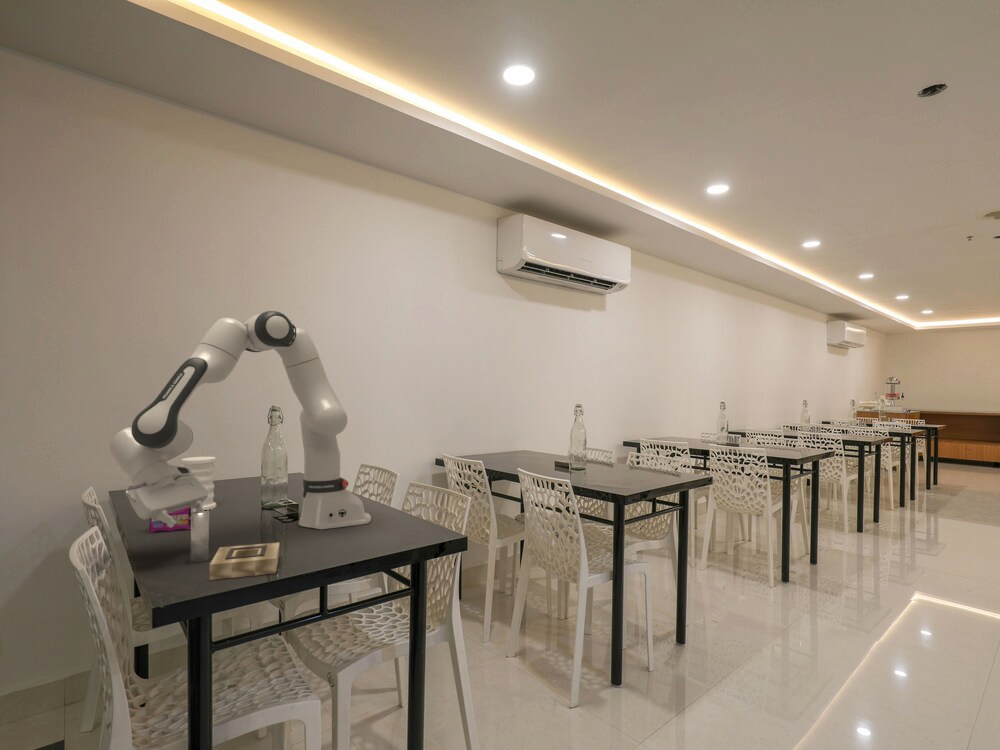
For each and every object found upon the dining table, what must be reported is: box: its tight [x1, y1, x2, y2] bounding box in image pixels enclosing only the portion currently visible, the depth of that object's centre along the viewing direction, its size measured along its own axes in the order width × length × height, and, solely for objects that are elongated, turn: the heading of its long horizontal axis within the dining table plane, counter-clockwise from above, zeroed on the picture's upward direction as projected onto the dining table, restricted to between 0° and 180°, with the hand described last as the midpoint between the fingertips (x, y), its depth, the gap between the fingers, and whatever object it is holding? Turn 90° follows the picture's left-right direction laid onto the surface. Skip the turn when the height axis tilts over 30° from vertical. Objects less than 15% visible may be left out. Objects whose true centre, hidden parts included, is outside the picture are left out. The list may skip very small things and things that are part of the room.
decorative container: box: [181, 456, 217, 512], centre depth 198 cm, size 12×12×18 cm
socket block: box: [209, 542, 281, 581], centre depth 134 cm, size 14×14×4 cm
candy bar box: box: [148, 474, 193, 534], centre depth 169 cm, size 11×5×16 cm, turn 112°
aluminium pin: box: [190, 510, 210, 563], centre depth 139 cm, size 4×4×12 cm
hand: (189, 520), depth 140 cm, fingers open, 8 cm apart
